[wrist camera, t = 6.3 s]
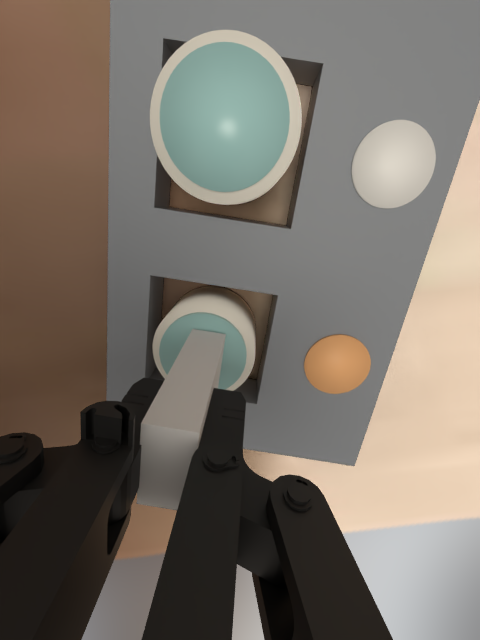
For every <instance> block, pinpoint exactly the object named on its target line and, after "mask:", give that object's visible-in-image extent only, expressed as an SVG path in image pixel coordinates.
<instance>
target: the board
mask: <svg viewBox="0 0 480 640" xmlns="http://www.w3.org/2000/svg"><path fill="white" fill-rule="evenodd" d="M215 30H236V31H240V32H245V33H248V34H250V35H252V36H255V37H257V38H259V39H260V40H262V41H264V42H265V43H267V44H268V45H269V46H270V47H271V48H273V49H274V50H275V51H276V52H277V53H278V55H279V56H280V57H281V58H282V59H283V61H284V62H285V63H286V65H287V66H288V68H289V70H290V72H291V74H292V76H293V78H294V80H295V83H296V84H302V85H308V86H313V88H312V93H311V98H310V103H309V109H308V114H307V119H306V125H305V130H304V135H303V140H302V146H301V151H300V156H299V161H298V167H297V172H296V177H295V183H294V188H293V193H292V198H291V204H290V209H289V214H288V219H287V225H280V224H274V223H267V222H261V221H255V220H248V219H242V218H236V217H229V216H223V215H217V214H210V213H204V212H198V211H191V210H185V209H179V208H172V207H169V199H170V185H171V177H170V176H169V174H168V173H167V172H166V170H165V169H164V167H163V165H162V164H161V162H160V159H159V157H158V155H157V153H156V150H155V147H154V144H153V140H152V135H151V128H150V106H151V99H152V94H153V90H154V87H155V84H156V81H157V78H158V76H159V74H160V72H161V70H162V68H163V67H164V65H165V64H166V62H167V61H168V59H169V58H170V57H171V56H172V55H173V54H174V52H175V51H176V50H177V49H179V48H180V47H181V46H182V45H183V44H184V43H186V42H188V41H189V40H191V39H192V38H194V37H196V36H199V35H201V34H203V33H207V32H211V31H215ZM479 100H480V0H110V86H109V194H108V302H107V401H119V402H121V401H122V399H123V398H124V396H125V395H126V394H127V392H128V391H129V389H130V388H131V386H132V385H133V384H134V383H136V382H137V381H139V380H141V379H142V378H150V379H156V380H162V381H164V380H165V378H164V377H163V376H162V375H161V373H160V371H159V370H158V368H157V366H156V363H155V360H154V357H153V339H154V335H155V332H156V330H157V328H158V326H159V325H160V323H161V314H162V300H163V285H164V277H165V278H171V279H178V280H184V281H190V282H197V283H203V284H209V285H216V286H222V287H228V288H235V289H241V290H247V291H254V292H260V293H266V294H273V299H272V304H271V309H270V314H269V320H268V325H267V330H266V335H265V341H264V346H263V351H262V357H261V362H260V367H259V372H258V378H257V380H254V379H248V378H247V379H246V380H245V382H244V383H243V384H242V385H240V386H239V387H238V388H237V389H235V390H234V391H237V392H241V393H242V395H243V397H244V398H245V400H246V411H245V425H244V439H243V449H249V450H255V451H261V452H268V453H274V454H280V455H287V456H293V457H300V458H306V459H312V460H319V461H325V462H331V463H338V464H344V465H350V466H355V463H356V460H357V457H358V454H359V451H360V448H361V445H362V442H363V439H364V436H365V433H366V430H367V428H368V425H369V422H370V419H371V416H372V413H373V410H374V407H375V404H376V401H377V398H378V395H379V392H380V389H381V387H382V384H383V381H384V378H385V375H386V372H387V369H388V366H389V363H390V360H391V357H392V354H393V351H394V349H395V346H396V343H397V340H398V337H399V334H400V331H401V328H402V325H403V322H404V319H405V316H406V313H407V311H408V308H409V305H410V302H411V299H412V296H413V293H414V290H415V287H416V284H417V281H418V278H419V275H420V272H421V270H422V267H423V264H424V261H425V258H426V255H427V252H428V249H429V246H430V243H431V240H432V237H433V234H434V232H435V229H436V226H437V223H438V220H439V217H440V214H441V211H442V208H443V205H444V202H445V199H446V196H447V193H448V191H449V188H450V185H451V182H452V179H453V176H454V173H455V170H456V167H457V164H458V161H459V158H460V155H461V153H462V150H463V147H464V144H465V141H466V138H467V135H468V132H469V129H470V126H471V123H472V120H473V117H474V114H475V112H476V109H477V106H478V103H479Z"/></svg>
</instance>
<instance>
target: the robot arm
mask: <svg viewBox="0 0 480 640" xmlns="http://www.w3.org/2000/svg"><path fill="white" fill-rule="evenodd" d="M225 337H226V334H221V333H215V332H209V331H203V330H196V329H192V331H191V333H190V334H189V336H188V338H187V340H186V342H185V344H184V345H183V347H182V349H181V351H180V353H179V355H178V356H177V358H176V360H175V362H174V364H173V366H172V367H171V369H170V371H169V373H168V375H167V377H166V378H165V380H164V381H162V380H156V379H150V378H142V379H141V380H139V381H137V382H136V383H134V384H133V385H132V386H131V388H130V389H129V391H128V392H127V394H126V395H125V396H124V398H123V399H122V401H121V402H119V401H103V402H97V403H95V404H92V405H90V406H88V407H86V408H85V409H84V410H83V411H81V440H80V441H79V443H78V444H76V445H72V446H65V447H52V448H43V444H42V441H41V439H40V438H39V437H37V436H36V435H35V434H30V433H12V434H8V435H5V436H1V437H0V640H81V639H82V636H83V634H84V632H85V629H86V627H87V624H88V622H89V619H90V617H91V615H92V612H93V610H94V607H95V605H96V602H97V600H98V598H99V595H100V593H101V590H102V588H103V585H104V583H105V580H106V578H107V575H108V573H109V570H110V568H111V566H112V563H113V561H114V558H115V556H116V554H117V551H118V549H119V546H120V544H121V541H122V539H123V536H124V534H125V532H126V529H127V527H128V524H129V521H130V516H131V505H132V502H133V500H134V498H135V495H136V493H137V504H142V505H148V506H154V507H160V508H166V509H172V510H177V513H176V517H175V520H174V524H173V528H172V531H171V535H170V539H169V542H168V546H167V550H166V553H165V557H164V561H163V564H162V568H161V571H160V575H159V579H158V583H157V587H156V590H155V593H154V597H153V601H152V604H151V608H150V612H149V615H148V619H147V622H146V626H145V630H144V634H143V637H142V640H232V626H233V611H234V597H235V580H236V568H237V564H238V565H240V566H242V567H243V568H245V569H247V570H249V571H251V572H252V577H253V582H254V587H255V592H256V598H257V602H258V608H259V613H260V618H261V623H262V629H263V634H264V639H265V640H393V639H392V637H391V634H390V632H389V631H388V628H387V626H386V624H385V622H384V620H383V618H382V616H381V614H380V611H379V609H378V608H377V605H376V603H375V601H374V599H373V597H372V595H371V593H370V591H369V589H368V586H367V584H366V582H365V580H364V578H363V576H362V574H361V572H360V570H359V568H358V566H357V564H356V561H355V559H354V557H353V555H352V553H351V551H350V549H349V547H348V545H347V543H346V541H345V539H344V536H343V534H342V532H341V530H340V528H339V526H338V524H337V522H336V520H335V518H334V516H333V514H332V511H331V509H330V507H329V505H328V503H327V501H326V499H325V497H324V495H323V494H322V492H321V491H320V489H319V488H318V487H317V486H316V485H315V484H313V483H312V482H311V481H310V480H308V479H305V478H303V477H301V476H296V475H284V476H280V477H279V478H277V479H276V480H275V481H273V482H272V481H269V480H267V479H265V478H263V477H261V476H259V475H257V474H256V473H254V472H253V471H252V470H251V469H250V468H249V467H248V466H247V464H246V463H245V461H244V458H243V439H244V425H245V411H246V400H245V398H244V397H243V395H242V393H241V392H237V391H230V390H224V389H218V385H219V378H220V371H221V364H222V357H223V350H224V344H225Z"/></svg>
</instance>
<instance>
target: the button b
mask: <svg viewBox="0 0 480 640" xmlns="http://www.w3.org/2000/svg"><path fill="white" fill-rule="evenodd" d="M301 126H302V110H301V101H300V96H299V92H298V88H297V86H296V83H295V80H294V78H293V76H292V74H291V72H290V70H289V68H288V66H287V65H286V63H285V62H284V61H283V59H282V58H281V57H280V56H279V55H278V53H277V52H276V51H275V50H274V49H273V48H271V47H270V46H269V45H268V44H267V43H265V42H264V41H262V40H260V39H259V38H257V37H255V36H252V35H250V34H248V33H245V32H240V31H236V30H215V31H211V32H207V33H203V34H201V35H199V36H196V37H194V38H192V39H191V40H189V41H188V42H186V43H184V44H183V45H182V46H181V47H180V48H179V49H177V50H176V51H175V52H174V54H173V55H172V56H171V57H170V58H169V59H168V61H167V62H166V64H165V65H164V67H163V68H162V70H161V72H160V74H159V76H158V78H157V81H156V84H155V87H154V90H153V94H152V99H151V106H150V128H151V135H152V140H153V144H154V147H155V150H156V153H157V155H158V157H159V159H160V162H161V164H162V165H163V167H164V169H165V170H166V172H167V173H168V174H169V176H170V177H171V178H172V179H173V180H174V182H175V183H177V184H178V185H179V186H180V187H181V188H182V189H183V190H185V191H186V192H187V193H189V194H190V195H192V196H194V197H196V198H198V199H200V200H203V201H206V202H209V203H214V204H222V205H231V204H242V203H247V202H250V201H253V200H255V199H257V198H259V197H261V196H262V195H264V194H265V193H267V192H268V191H269V190H270V189H271V188H272V187H273V186H274V185H275V184H276V183H277V182H278V180H279V179H280V178H281V177H282V176H283V174H284V173H285V172H286V170H287V169H288V167H289V165H290V163H291V161H292V159H293V158H294V155H295V152H296V150H297V147H298V143H299V139H300V134H301Z"/></svg>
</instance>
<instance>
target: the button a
mask: <svg viewBox="0 0 480 640" xmlns="http://www.w3.org/2000/svg"><path fill="white" fill-rule="evenodd" d="M192 329H196V330H203V331H209V332H215V333H221V334H226V337H225V344H224V350H223V357H222V364H221V371H220V378H219V385H218V389H224V390H230V391H234V390H235V389H237V388H238V387H239V386H240V385H242V384H243V383H244V382H245V380H246V379H247V378H248V376H249V375H250V373H251V371H252V368H253V365H254V362H255V345H256V324H255V319H254V315H253V313H252V311H251V309H250V307H249V306H248V304H247V303H246V302H245V301H244V300H243V299H242V298H241V297H240V296H239V295H237V294H236V293H234V292H232V291H230V290H228V289H225V288H222V287H216V286H205V287H200V288H197V289H194V290H192V291H190V292H188V293H187V294H185V295H184V296H183V297H182V298H181V299H180V300H179V301H178V302H177V303H176V304H175V306H174V307H173V308H172V309H171V311H170V312H169V313H168V314H167V315H166V317H165V318H164V319H163V320H162V322H161V323H160V325H159V326H158V328H157V330H156V332H155V335H154V339H153V357H154V360H155V363H156V366H157V368H158V370H159V371H160V373H161V375H162V376H163V377H164V378H166V377H167V375H168V373H169V371H170V369H171V367H172V366H173V364H174V362H175V360H176V358H177V356H178V355H179V353H180V351H181V349H182V347H183V345H184V344H185V342H186V340H187V338H188V336H189V334H190V333H191V331H192Z"/></svg>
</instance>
